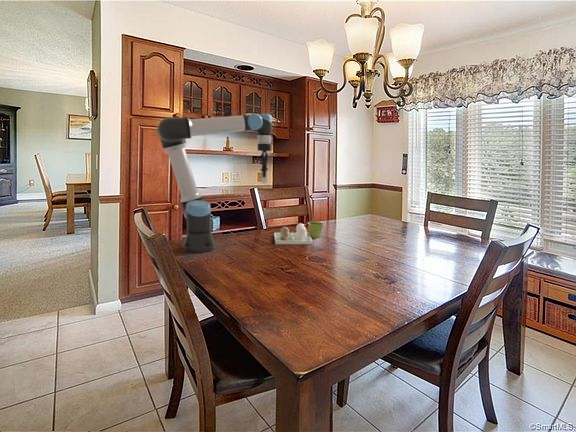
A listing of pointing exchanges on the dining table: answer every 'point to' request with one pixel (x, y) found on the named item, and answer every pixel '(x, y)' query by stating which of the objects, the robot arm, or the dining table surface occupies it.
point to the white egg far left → (298, 228)
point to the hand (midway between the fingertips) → (264, 182)
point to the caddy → (292, 239)
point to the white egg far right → (302, 234)
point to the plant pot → (315, 229)
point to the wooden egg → (284, 234)
